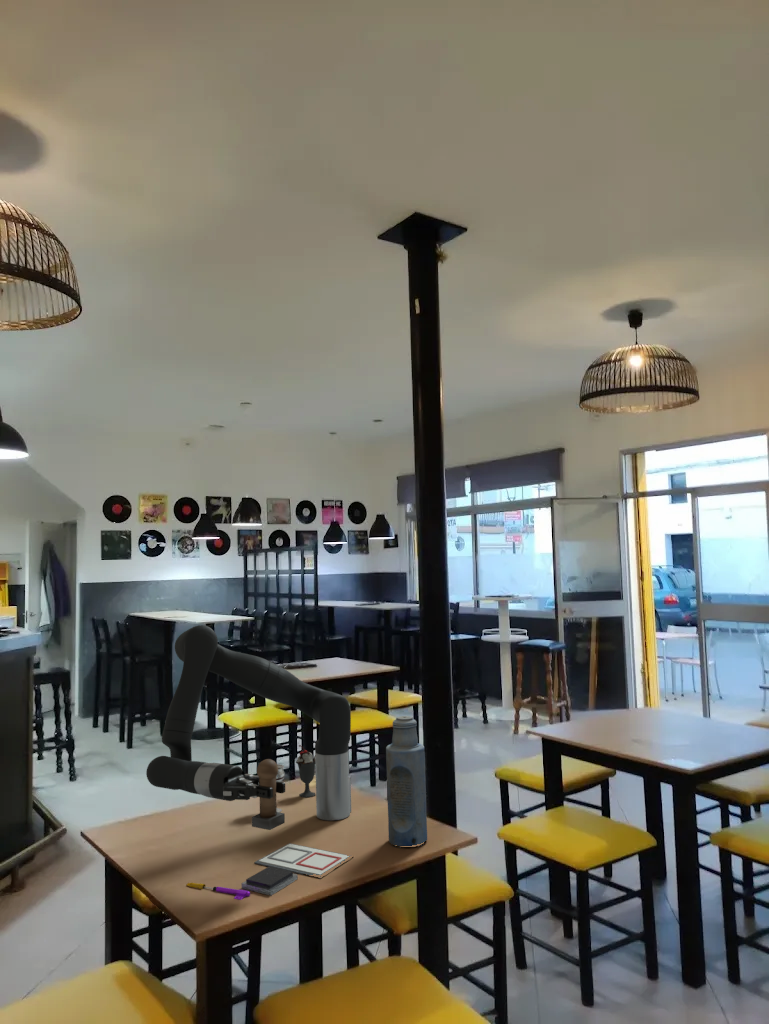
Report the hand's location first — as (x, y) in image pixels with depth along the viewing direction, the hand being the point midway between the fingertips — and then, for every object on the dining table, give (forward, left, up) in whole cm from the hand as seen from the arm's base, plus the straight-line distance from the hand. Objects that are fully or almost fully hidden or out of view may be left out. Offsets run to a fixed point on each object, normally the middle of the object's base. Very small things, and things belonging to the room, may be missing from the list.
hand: (277, 790), depth 153 cm
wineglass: (-39, -34, -20) cm, 55 cm away
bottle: (-35, +12, -20) cm, 42 cm away
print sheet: (-14, -4, -20) cm, 24 cm away
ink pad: (0, -3, -20) cm, 20 cm away
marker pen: (+8, -11, -20) cm, 24 cm away
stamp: (0, -3, -7) cm, 8 cm away
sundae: (-55, -34, -20) cm, 67 cm away
